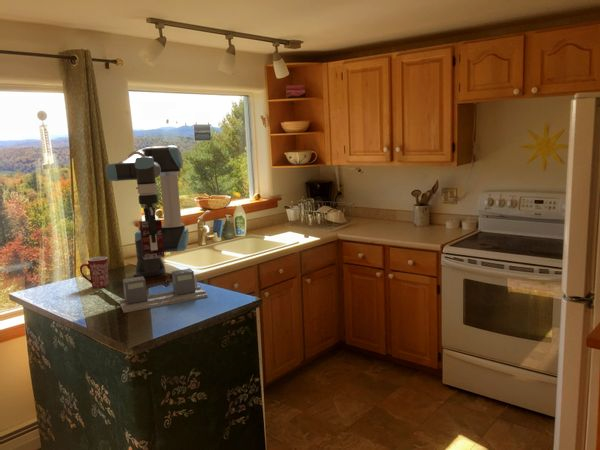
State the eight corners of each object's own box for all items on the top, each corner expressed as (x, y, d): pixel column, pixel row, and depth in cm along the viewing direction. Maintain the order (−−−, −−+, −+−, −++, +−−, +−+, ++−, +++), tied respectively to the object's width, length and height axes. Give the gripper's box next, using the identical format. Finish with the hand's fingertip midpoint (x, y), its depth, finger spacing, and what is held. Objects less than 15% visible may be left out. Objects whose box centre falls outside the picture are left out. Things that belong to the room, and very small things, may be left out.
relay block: (182, 288, 229) (181, 276, 228) (192, 286, 232) (191, 273, 231) (186, 291, 225) (185, 278, 224) (197, 288, 228) (196, 275, 227)
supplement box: (144, 260, 209) (140, 222, 207) (142, 258, 214) (138, 221, 212) (165, 257, 213) (161, 220, 211) (163, 255, 217) (159, 219, 215)
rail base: (119, 304, 211) (116, 278, 209) (199, 289, 225) (196, 265, 224) (123, 312, 199) (120, 285, 197) (207, 297, 214) (205, 271, 212)
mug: (109, 282, 248) (105, 255, 246) (112, 286, 240) (108, 258, 238) (81, 286, 242) (77, 259, 240) (83, 291, 234) (79, 263, 232)
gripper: (135, 193, 216) (140, 247, 219) (141, 196, 200) (147, 253, 203) (153, 192, 219) (158, 245, 222) (160, 194, 203) (166, 251, 206)
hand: (153, 249), depth 213 cm, fingers closed on supplement box, 5 cm apart
